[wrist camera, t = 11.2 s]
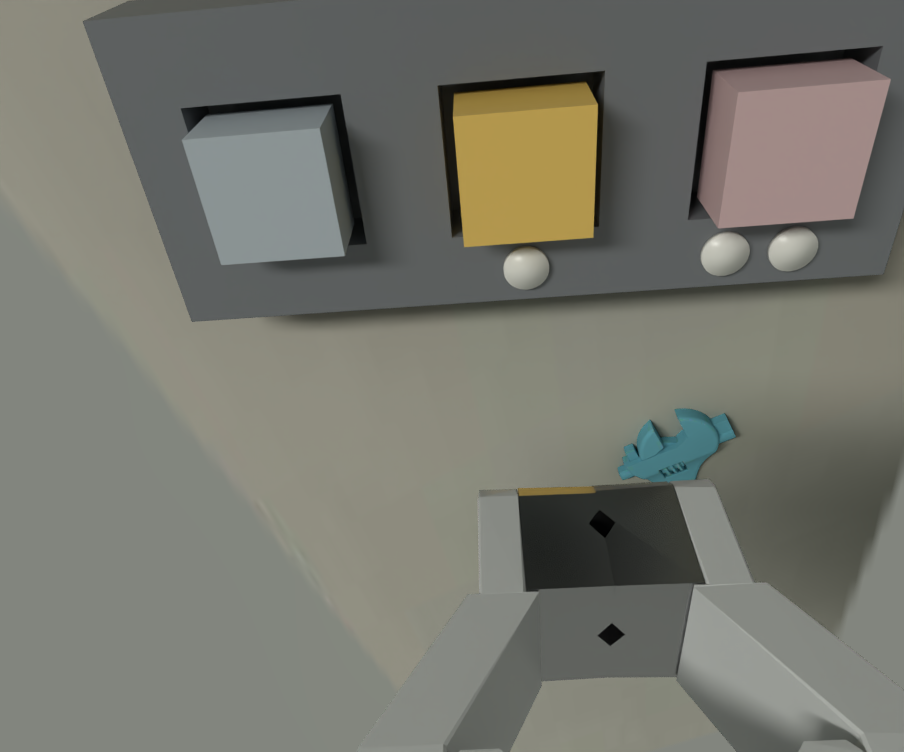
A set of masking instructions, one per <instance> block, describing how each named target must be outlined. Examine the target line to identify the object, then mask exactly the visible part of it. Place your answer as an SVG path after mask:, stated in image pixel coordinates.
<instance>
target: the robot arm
mask: <svg viewBox="0 0 904 752" xmlns="http://www.w3.org/2000/svg"><path fill="white" fill-rule="evenodd" d="M478 547H479V594H468V595H467V596H466V597H465V599H464V600H463V602H462V603H461V604H460V606H459V607H458V609H457V610H456V611H455V613H454V614H453V616H452V617H451V618H450V620H449V621H448V623H447V624H446V625H445V627H444V628H443V630H442V631H441V632H440V634H439V635H438V637H437V638H436V639H435V641H434V642H433V644H432V645H431V646H430V648H429V649H428V650H427V652H426V653H425V655H424V656H423V657H422V659H421V660H420V662H419V663H418V664H417V666H416V667H415V669H414V670H413V671H412V673H411V674H410V676H409V677H408V678H407V680H406V681H405V683H404V684H403V685H402V687H401V688H400V690H399V691H398V692H397V694H396V695H395V697H394V698H393V700H392V701H391V702H390V704H389V705H388V706H387V708H386V709H385V711H384V712H383V713H382V715H381V716H380V718H379V719H378V721H377V722H376V723H375V725H374V726H373V727H372V729H371V730H370V732H369V733H368V734H367V736H366V737H365V738H364V740H363V741H362V743H361V744H360V746H359V747H358V748H357V752H510V750H511V747H512V745H513V743H514V741H515V739H516V737H517V735H518V733H519V731H520V729H521V727H522V725H523V723H524V721H525V719H526V717H527V715H528V713H529V711H530V709H531V706H532V704H533V702H534V700H535V698H536V696H537V694H538V692H539V690H540V688H541V686H542V682H541V681H555V680H572V679H588V678H605V677H677V680H676V681H677V682H678V683H679V684H680V685H681V686H682V688H683V689H684V690H685V691H686V692H687V694H688V695H689V696H690V697H691V698H692V700H693V701H694V702H695V703H696V704H697V705H698V707H699V708H700V709H701V710H702V711H703V713H704V714H705V715H706V716H707V717H708V718H709V720H710V721H711V722H712V723H713V724H714V726H715V727H716V728H717V729H718V730H719V732H720V733H721V734H722V735H723V736H724V737H725V738H726V740H727V741H728V742H729V743H730V744H731V746H732V747H733V748H734V749H735V751H736V752H904V690H903V689H902V688H901V687H900V686H898V685H897V684H896V683H895V682H893V681H892V680H891V679H889V678H888V677H887V676H886V675H884V674H883V673H882V672H881V671H879V670H878V669H877V668H876V667H874V666H873V665H872V664H870V663H869V662H868V661H867V660H865V659H864V658H863V657H862V656H860V655H859V654H858V653H856V652H855V651H854V650H853V649H851V648H850V647H849V646H848V645H846V644H845V643H844V642H843V641H841V640H840V639H839V638H837V637H836V636H835V635H834V634H832V633H831V632H830V631H829V630H827V629H826V628H825V627H824V626H822V625H821V624H820V623H818V622H817V621H816V620H815V619H813V618H812V617H811V616H810V615H808V614H807V613H806V612H804V611H803V610H802V609H801V608H799V607H798V606H797V605H796V604H794V603H793V602H792V601H791V600H789V599H788V598H787V597H785V596H784V595H783V594H782V593H780V592H779V591H778V590H777V589H775V588H774V587H773V586H771V585H770V584H769V583H768V582H754V579H753V577H752V574H751V572H750V570H749V567H748V565H747V562H746V560H745V557H744V555H743V552H742V550H741V547H740V545H739V542H738V540H737V538H736V535H735V533H734V530H733V528H732V525H731V523H730V520H729V518H728V515H727V513H726V511H725V508H724V506H723V503H722V501H721V498H720V496H719V493H718V491H717V488H716V486H715V484H714V483H713V482H712V481H711V480H710V479H699V480H682V481H670V482H669V483H668V482H667V481H665V482H648V483H631V484H615V485H598V486H592V487H554V488H518V493H517V489H507V490H479V495H478Z"/></svg>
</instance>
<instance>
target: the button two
mask: <svg viewBox="0 0 904 752" xmlns="http://www.w3.org/2000/svg"><path fill="white" fill-rule="evenodd" d="M890 81H891V79H890V78H888V77H886V76H884V75H882V74H880V73H878V72H877V71H875V70H873V69H871V68H869V67H867V66H865V65H863V64H862V63H860V62H858V61H856V60H854V59H852V58H843V59H831V60H820V61H809V62H797V63H786V64H774V65H763V66H752V67H740V68H729V69H718V70H713V73H712V81H711V89H710V97H709V105H708V113H707V121H706V129H705V137H704V145H703V153H702V161H701V168H700V176H699V184H698V192H697V198H698V199H699V201H700V202H701V204H702V205H703V207H704V208H705V210H706V211H707V213H708V214H709V216H710V217H711V219H712V220H713V222H714V223H715V225H716V226H717V228H732V227H745V226H759V225H772V224H786V223H799V222H813V221H827V220H840V219H853V218H854V215H855V211H856V207H857V204H858V200H859V196H860V192H861V189H862V185H863V181H864V178H865V174H866V170H867V166H868V163H869V159H870V155H871V152H872V148H873V144H874V141H875V137H876V133H877V129H878V126H879V122H880V118H881V115H882V111H883V107H884V103H885V100H886V96H887V92H888V89H889V85H890Z"/></svg>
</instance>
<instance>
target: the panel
mask: <svg viewBox="0 0 904 752" xmlns="http://www.w3.org/2000/svg"><path fill="white" fill-rule="evenodd" d="M83 24H84V26H85V29H86V32H87V35H88V37H89V40H90V43H91V46H92V48H93V51H94V54H95V57H96V59H97V62H98V65H99V68H100V70H101V73H102V76H103V79H104V81H105V84H106V87H107V90H108V92H109V95H110V98H111V101H112V103H113V106H114V109H115V112H116V114H117V117H118V120H119V123H120V125H121V128H122V131H123V134H124V136H125V139H126V142H127V145H128V147H129V150H130V153H131V156H132V158H133V161H134V164H135V167H136V169H137V172H138V175H139V178H140V180H141V183H142V186H143V189H144V191H145V194H146V197H147V200H148V202H149V205H150V208H151V211H152V213H153V216H154V219H155V222H156V224H157V227H158V230H159V233H160V235H161V238H162V241H163V244H164V246H165V249H166V252H167V255H168V257H169V260H170V263H171V266H172V268H173V271H174V274H175V277H176V279H177V282H178V285H179V288H180V290H181V293H182V296H183V299H184V301H185V304H186V307H187V310H188V312H189V315H190V318H191V321H192V322H195V321H210V320H224V319H239V318H253V317H268V316H283V315H297V314H312V313H326V312H341V311H355V310H370V309H385V308H399V307H414V306H428V305H443V304H458V303H472V302H487V301H501V300H516V299H530V298H545V297H560V296H574V295H589V294H603V293H618V292H632V291H647V290H662V289H676V288H691V287H705V286H720V285H734V284H749V283H764V282H778V281H793V280H807V279H822V278H837V277H851V276H866V275H880V274H884V271H885V268H886V265H887V261H888V258H889V255H890V252H891V249H892V245H893V242H894V239H895V236H896V233H897V230H898V226H899V223H900V220H901V217H902V214H903V210H904V0H135V1H127V2H125V3H123V4H121V5H118V6H116V7H114V8H112V9H109V10H107V11H105V12H103V13H100V14H98V15H96V16H94V17H91V18H89V19H87V20H84V21H83ZM843 58H852V59H854V60H856V61H858V62H860V63H862V64H863V65H865V66H867V67H869V68H871V69H873V70H875V71H877V72H878V73H880V74H882V75H884V76H886V77H888V78H890V79H891V81H890V85H889V89H888V92H887V96H886V100H885V103H884V107H883V111H882V115H881V118H880V122H879V126H878V129H877V133H876V137H875V141H874V144H873V148H872V152H871V155H870V159H869V163H868V166H867V170H866V174H865V178H864V181H863V185H862V189H861V192H860V196H859V200H858V204H857V207H856V211H855V215H854V218H853V219H840V220H827V221H813V222H799V223H786V224H772V225H759V226H745V227H732V228H717V226H716V225H715V223H714V222H713V220H712V219H711V217H710V216H709V214H708V213H707V211H706V210H705V208H704V207H703V205H702V204H701V202H700V201H699V199H698V198H697V192H698V184H699V176H700V168H701V161H702V153H703V145H704V137H705V129H706V121H707V113H708V105H709V97H710V89H711V81H712V73H713V70H718V69H729V68H740V67H752V66H763V65H774V64H786V63H797V62H809V61H820V60H831V59H843ZM581 81H586V83H587V85H588V86H589V88H590V90H591V92H592V94H593V96H594V98H595V100H596V102H597V104H598V117H597V146H596V175H595V204H594V233H593V238H583V239H569V240H556V241H542V242H529V243H515V244H501V245H488V246H474V247H464V240H463V228H462V217H461V205H460V193H459V182H458V170H457V158H456V146H455V135H454V123H453V105H454V93H456V92H468V91H479V90H490V89H502V88H513V87H525V86H536V85H547V84H559V83H570V82H581ZM331 103H333V108H334V114H335V119H336V125H337V130H338V136H339V141H340V146H341V152H342V157H343V163H344V168H345V174H346V179H347V185H348V190H349V196H350V201H351V207H352V212H353V217H354V223H355V224H354V227H353V230H352V234H351V237H350V240H349V244H348V247H347V251H346V254H345V256H339V257H325V258H312V259H298V260H285V261H271V262H258V263H244V264H230V265H221V263H220V259H219V256H218V253H217V250H216V247H215V244H214V240H213V237H212V234H211V231H210V228H209V225H208V222H207V218H206V215H205V212H204V209H203V206H202V203H201V199H200V196H199V193H198V190H197V187H196V184H195V180H194V177H193V174H192V171H191V168H190V165H189V161H188V158H187V155H186V152H185V149H184V146H183V142H182V139H183V138H184V137H185V136H186V135H187V134H188V133H189V132H190V131H191V130H192V129H193V128H194V127H195V126H196V125H197V124H198V123H199V122H200V121H201V120H202V119H203V118H204V117H205V116H206V115H207V114H218V113H229V112H240V111H252V110H263V109H275V108H286V107H297V106H309V105H320V104H331Z"/></svg>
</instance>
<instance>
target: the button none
mask: <svg viewBox="0 0 904 752" xmlns="http://www.w3.org/2000/svg"><path fill="white" fill-rule="evenodd" d="M182 142H183V146H184V149H185V152H186V155H187V158H188V161H189V165H190V168H191V171H192V174H193V177H194V180H195V184H196V187H197V190H198V193H199V196H200V199H201V203H202V206H203V209H204V212H205V215H206V218H207V222H208V225H209V228H210V231H211V234H212V237H213V240H214V244H215V247H216V250H217V253H218V256H219V259H220V263H221V265H230V264H244V263H258V262H271V261H285V260H298V259H312V258H325V257H339V256H345V254H346V251H347V247H348V244H349V240H350V237H351V234H352V230H353V227H354V224H355V223H354V217H353V212H352V207H351V201H350V196H349V190H348V185H347V179H346V174H345V168H344V163H343V157H342V152H341V146H340V141H339V136H338V130H337V125H336V119H335V114H334V108H333V103H331V104H320V105H309V106H297V107H286V108H275V109H263V110H252V111H240V112H229V113H218V114H207V115H206V116H205V117H204V118H203V119H202V120H201V121H200V122H199V123H198V124H197V125H196V126H195V127H194V128H193V129H192V130H191V131H190V132H189V133H188V134H187V135H186V136H185V137H184V138H183V139H182Z"/></svg>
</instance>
